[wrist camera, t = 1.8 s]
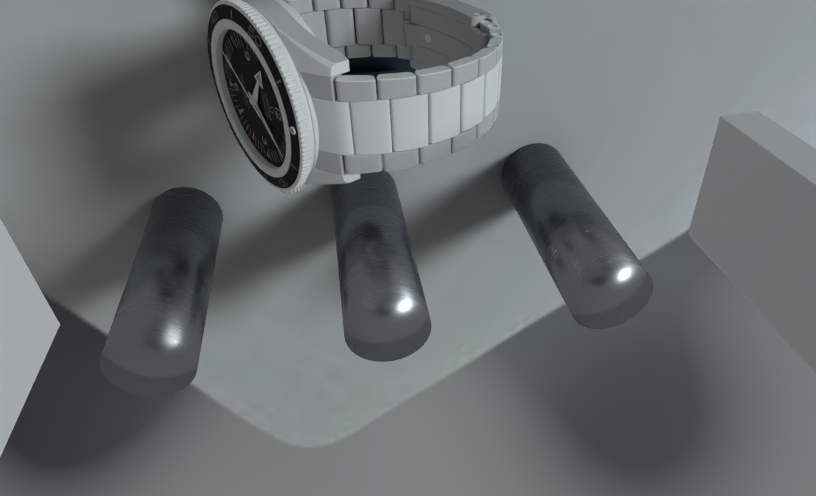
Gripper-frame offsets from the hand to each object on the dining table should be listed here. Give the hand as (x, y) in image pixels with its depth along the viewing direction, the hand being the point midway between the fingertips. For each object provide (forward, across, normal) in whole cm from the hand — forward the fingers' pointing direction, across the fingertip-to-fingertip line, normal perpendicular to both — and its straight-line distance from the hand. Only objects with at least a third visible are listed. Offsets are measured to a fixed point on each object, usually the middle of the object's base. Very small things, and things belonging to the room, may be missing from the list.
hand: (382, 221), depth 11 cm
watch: (+14, 0, 0) cm, 14 cm away
